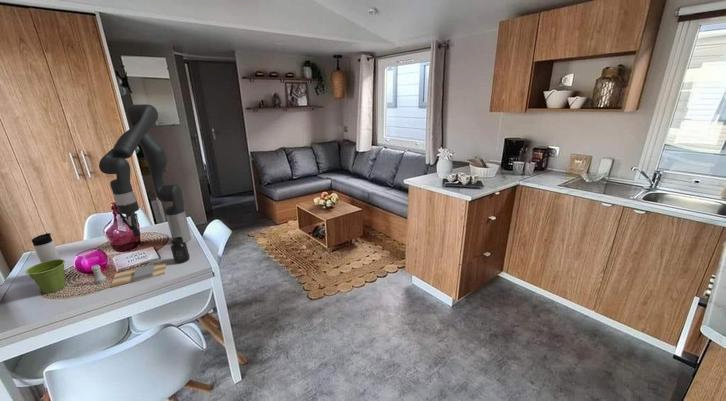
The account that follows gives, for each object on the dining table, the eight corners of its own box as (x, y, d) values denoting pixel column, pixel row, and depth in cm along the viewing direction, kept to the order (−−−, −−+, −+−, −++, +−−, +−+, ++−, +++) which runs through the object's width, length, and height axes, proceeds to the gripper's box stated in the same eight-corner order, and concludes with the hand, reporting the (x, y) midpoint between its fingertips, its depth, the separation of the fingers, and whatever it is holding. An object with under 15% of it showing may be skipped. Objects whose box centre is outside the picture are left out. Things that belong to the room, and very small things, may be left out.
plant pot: (40, 300, 122) (29, 276, 118) (32, 291, 128) (21, 269, 124) (77, 285, 131) (68, 263, 128) (68, 277, 137) (59, 256, 134)
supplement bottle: (193, 256, 153) (187, 235, 149) (184, 263, 146) (178, 242, 142) (180, 256, 153) (175, 235, 149) (171, 263, 147) (165, 241, 143)
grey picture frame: (135, 268, 139) (133, 277, 132) (153, 264, 143) (151, 272, 135) (136, 271, 140) (134, 280, 132) (154, 266, 143) (152, 275, 136)
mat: (115, 274, 139) (115, 273, 138) (166, 262, 148) (165, 261, 148) (110, 288, 129) (110, 286, 128) (164, 274, 138) (164, 272, 138)
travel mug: (69, 271, 143) (54, 233, 136) (52, 278, 137) (35, 240, 131) (61, 269, 145) (45, 232, 138) (44, 276, 139) (27, 238, 133)
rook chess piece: (99, 279, 136) (93, 263, 133) (109, 278, 136) (104, 263, 133) (91, 284, 132) (85, 269, 129) (102, 284, 132) (96, 268, 129)
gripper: (118, 199, 137) (129, 232, 143) (113, 207, 126) (125, 243, 132) (138, 196, 140) (148, 229, 147) (134, 204, 130) (145, 239, 136)
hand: (137, 236), depth 139 cm, fingers closed
